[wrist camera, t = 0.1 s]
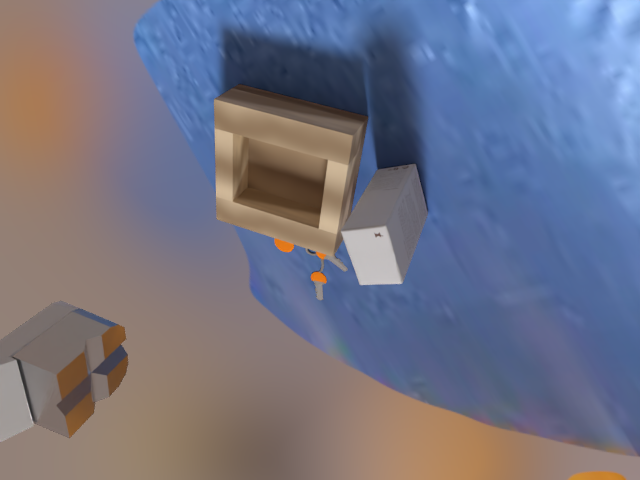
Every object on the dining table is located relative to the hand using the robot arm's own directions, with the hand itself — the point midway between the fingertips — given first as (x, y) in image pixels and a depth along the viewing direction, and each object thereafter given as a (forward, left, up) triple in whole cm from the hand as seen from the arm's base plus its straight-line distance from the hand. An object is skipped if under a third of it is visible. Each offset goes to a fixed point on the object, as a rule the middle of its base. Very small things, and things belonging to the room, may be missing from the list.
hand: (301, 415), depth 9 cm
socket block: (+17, -15, -39) cm, 45 cm away
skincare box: (+17, -3, -39) cm, 43 cm away
